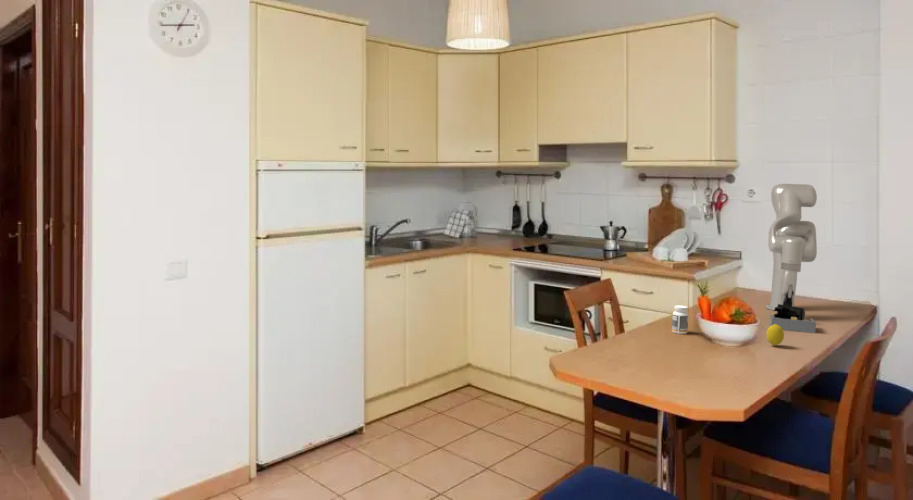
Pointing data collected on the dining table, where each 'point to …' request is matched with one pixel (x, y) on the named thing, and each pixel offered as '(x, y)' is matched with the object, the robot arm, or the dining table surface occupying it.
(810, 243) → the robot arm
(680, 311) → the pill bottle
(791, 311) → the end cap
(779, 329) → the lemon
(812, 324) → the steel cradle
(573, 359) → the dining table surface
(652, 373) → the dining table surface
